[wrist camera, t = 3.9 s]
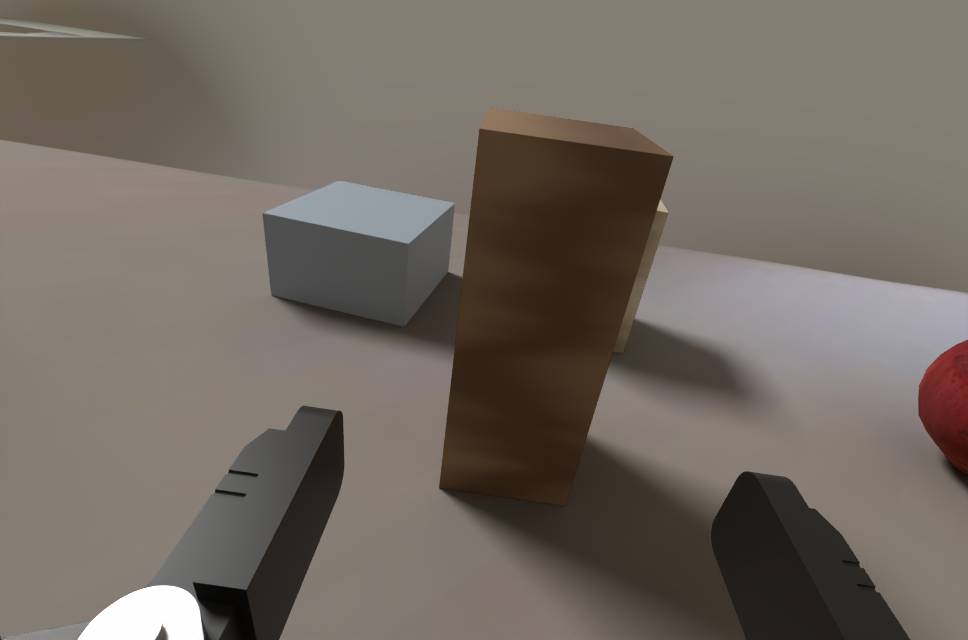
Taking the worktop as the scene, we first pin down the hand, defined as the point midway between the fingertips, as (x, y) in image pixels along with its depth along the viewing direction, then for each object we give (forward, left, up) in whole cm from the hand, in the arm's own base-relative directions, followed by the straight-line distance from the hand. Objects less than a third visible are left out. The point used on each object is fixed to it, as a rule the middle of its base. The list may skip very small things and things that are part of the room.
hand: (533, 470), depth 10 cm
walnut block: (-2, +7, -6) cm, 9 cm away
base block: (-14, +17, -7) cm, 23 cm away
